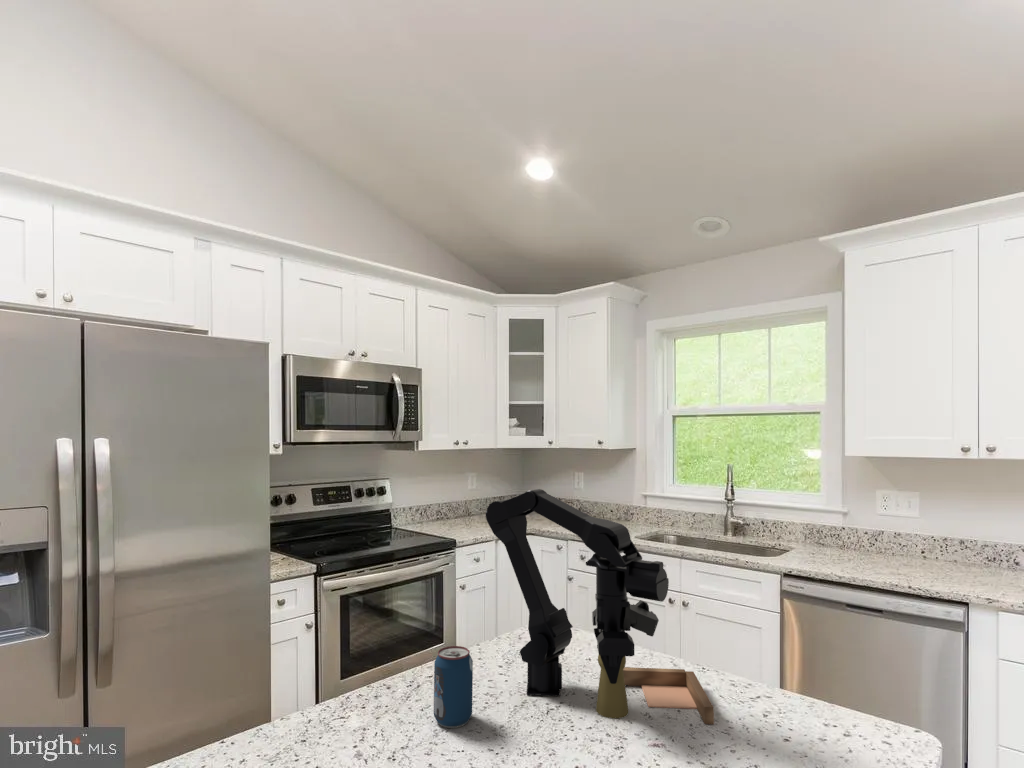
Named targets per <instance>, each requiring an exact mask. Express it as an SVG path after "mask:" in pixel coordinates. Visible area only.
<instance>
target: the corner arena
mask: <svg viewBox="0 0 1024 768" xmlns="http://www.w3.org/2000/svg"><path fill="white" fill-rule="evenodd" d="M623 673H624V681H625V685H628V686H630V687H631V686H632V687H634V686H635V687H641V689H642V691H643V695H644V697H645V700H646V703H647V706H648V708H660V709H662V708H665V709H688V710H689V709H690V710H697V713H698V714H699V715H700V718H701V720H702V722H703V723H704V725H715V717H714V716H715V715H714V711H715V709H714V708H715V707H714V705H713V703H712V702H711V700H710V698H709V697H708V695H707V693H706V691H705V689H704V688H703V686H702V684H701V683H700V681H699V679H698V677H697V675H696V673H695V672H694V671H690V670H689V671H688V670H687V671H686V669H684V668H682V669H681V668H680V669H679V668H658V667H657V668H656V667H626V666H625V667H624V669H623Z"/></svg>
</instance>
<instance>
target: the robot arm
mask: <svg viewBox="0 0 1024 768" xmlns="http://www.w3.org/2000/svg"><path fill="white" fill-rule="evenodd" d="M533 513H536V514H537V515H540V516H542V517H543V518H546V519H547V520H549V521H551V522H553V523H555V524H556V525H558V526H560V527H561V528H563V529H565V530H567V531H569V532H571V533H572V534H574V535H576V536H577V537H578V538H580V540H581V541H582V542H583V544H584V545H585V547H586V548H588V549H589V550H590V551H592V552H593V555H592V556H591V558H590V559H588V560H587V561H586V562H585V565H586V566H587V567H593V568H596V569H595V573H596V574H595V575H596V577H595V578H596V581H595V583H596V584H595V585H596V587H595V588H596V592H595V606H596V607H595V609H593V611H592V612H591V613H592V616H591V618H592V619H591V620H592V626H593V627H595V626H596V627H595V628H593V632H594V636H595V639H596V643H597V645H596V649H597V653H598V655H600V657H601V660H602V662H603V665H604V667H605V670H606V673H607V676H608V678H609V681H610V683H611V684H616V683H617V678H618V674H619V670H620V666H621V662H622V658H623V657H624V656H625V657H634V656H635V642H634V640H633V637H632V636H631V635H630V634H629V633H628V632H630V631H631V629H635V630H637V631H639V632H642V633H645V634H646V635H647V636H650V637H654V636H655V633H656V629H657V627H658V624H659V618H658V615H656V613H654V612H653V611H652V610H650V607H649V604H648V602H647V601H644V600H650V601H656V602H662V603H663V602H664V601H665V600H666V598H667V596H668V592H669V578H668V573H667V570H666V569H664V562H663V561H658V560H654V561H652V560H651V561H650V560H645V559H643V556H642V555H641V553H640V552H639V550H638V549H637V547H636V545H635V543H634V542H633V541H632V539H631V535H630V532H629V529H628V528H627V527H626V526H625V525H624V524H622V523H620V522H615V521H612V520H610V519H605V518H600V517H595V516H591V515H589V514H587V513H585V512H583V511H581V510H580V509H578V508H575V507H573V506H572V505H570V504H568V503H566V502H564V501H562V500H560V499H558V498H557V497H555V496H552V495H551V494H549V493H547V492H546V491H545V490H544V489H542V488H537V489H530V490H527V491H525V492H524V493H522V494H519V495H518V496H517V495H516V496H514V497H511V498H509V499H508V498H507V499H506V498H505V499H501V500H496V501H495V500H494V501H491V503H489V504H488V506H487V508H486V511H485V521H486V522H487V524H488V527H489V528H490V530H491V532H492V533H493V536H495V537H496V538H497V539H498V540H499V541H500V542H501V543H502V544H503V545H504V547H505V550H506V552H507V555H508V558H509V560H510V563H511V566H512V569H513V572H514V574H515V577H516V580H517V582H518V586H519V587H520V590H521V593H522V595H523V599H524V601H525V605H526V607H527V609H528V613H529V614H528V615H529V616H528V627H527V628H528V629H527V630H528V635H529V639H530V640H529V641H528V642H527V643H526V644H525V645H524V646H522V648H521V649H520V650H519V653H520V657H521V661H522V662H524V663H527V682H526V683H527V686H526V695H527V696H544V697H545V696H548V697H559V696H560V694H561V693H560V690H562V689H563V666H562V665H563V664H562V663H561V662H560V659H559V658H560V655H561V656H562V655H564V653H565V650H566V648H567V647H568V646H569V645H570V644H571V641H572V639H573V633H572V628H573V627H574V626H573V625H572V623H571V622H570V620H569V617H568V615H567V614H568V613H567V611H566V608H564V607H562V608H560V609H558V608H557V607H556V606H555V605H554V604H553V603H552V600H551V598H550V596H549V593H548V591H547V589H546V585H545V583H544V579H543V577H542V574H541V572H540V568H539V567H538V565H537V564H538V563H537V562H536V558H535V556H534V553H533V551H532V549H531V546H530V543H529V541H528V538H527V528H528V521H527V516H529V515H531V514H533ZM621 554H624V555H621ZM628 594H629V595H630V596H631V597H633V598H638V599H639V598H640V599H644V600H639V601H637V603H636V604H634V603H633V604H631V602H630V601H629V598H628Z"/></svg>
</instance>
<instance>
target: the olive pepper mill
mask: <svg viewBox="0 0 1024 768" xmlns="http://www.w3.org/2000/svg"><path fill="white" fill-rule="evenodd" d="M597 662H598V666H599V667H600V671H599V673H600V674H599V680H598V689H597V690H598V691H597V696H596V697H597V698H596V706H595V711H596V713H597V714H598V715H600V716H602V717H604V718H607V719H623V718H625V717H627V716H628V715H629V704H628V697H627V691H626V690H627V689H626V686H625V681H624V673H623V669H624V667H626V664H627V656H624V657H623V658H622V662H621V666H620V670H619V674H618V678H617V683H616V684H611V683H610V681H609V678H608V676H607V673H606V670H605V667H604V665H603V662H602V660H601V657H600V655H599V654H598V656H597Z"/></svg>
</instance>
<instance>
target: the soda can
mask: <svg viewBox="0 0 1024 768" xmlns="http://www.w3.org/2000/svg"><path fill="white" fill-rule="evenodd" d="M473 662H474V660H473V657H472V656H471V654H470V650H469V649H468V648H467V647H466V646H465V647H464V646H461V645H459V646H458V645H450V646H444V647H442V648H441V649H439V650H438V651H437V656H436V658H435V660H434V665H433V666H434V670H433V671H434V672H433V717H434V718H435V720H436V722H437V724H438V725H439V726H441V727H443V728H447V729H455V728H456V729H457V728H461V727H463V726H465V725H466V724H468V722H469V720H470V719H471V717H472V715H473V679H474V678H473V673H474V672H473V669H474V668H473V667H474V664H473Z"/></svg>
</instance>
